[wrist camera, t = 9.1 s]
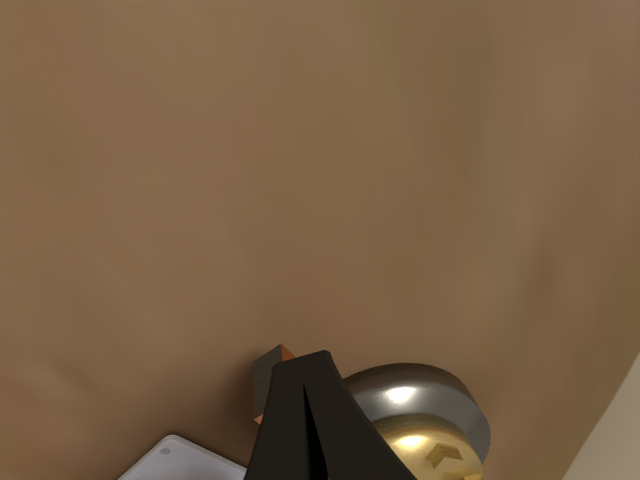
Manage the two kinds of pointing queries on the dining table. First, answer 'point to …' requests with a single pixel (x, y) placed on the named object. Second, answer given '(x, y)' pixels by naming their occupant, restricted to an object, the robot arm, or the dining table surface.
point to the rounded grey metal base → (420, 398)
